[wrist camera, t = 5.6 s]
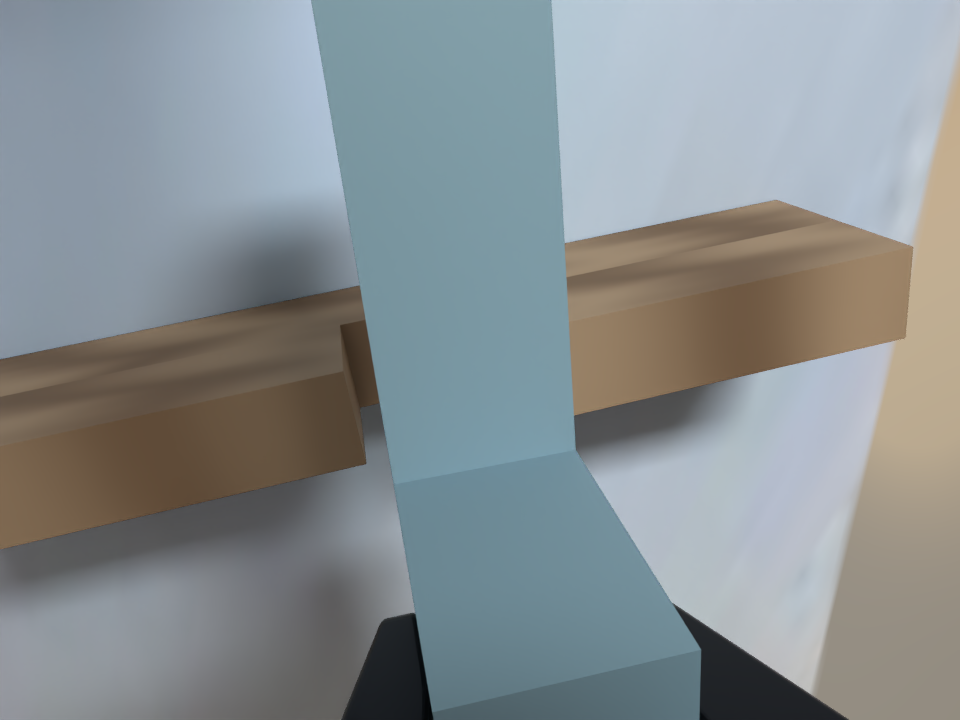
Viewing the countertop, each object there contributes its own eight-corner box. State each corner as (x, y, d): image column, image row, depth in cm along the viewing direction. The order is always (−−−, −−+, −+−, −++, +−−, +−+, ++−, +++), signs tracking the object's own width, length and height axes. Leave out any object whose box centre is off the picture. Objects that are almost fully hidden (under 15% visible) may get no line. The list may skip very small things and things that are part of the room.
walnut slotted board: (4, 440, 18) (-100, 572, 14) (-31, 366, 17) (-155, 479, 13) (776, 272, 21) (905, 338, 16) (776, 200, 20) (913, 246, 15)
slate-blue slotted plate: (527, 728, 17) (685, 1248, 10) (439, 750, 17) (532, 1300, 9) (443, -108, 10) (729, -446, 3) (294, -96, 10) (236, -435, 3)
